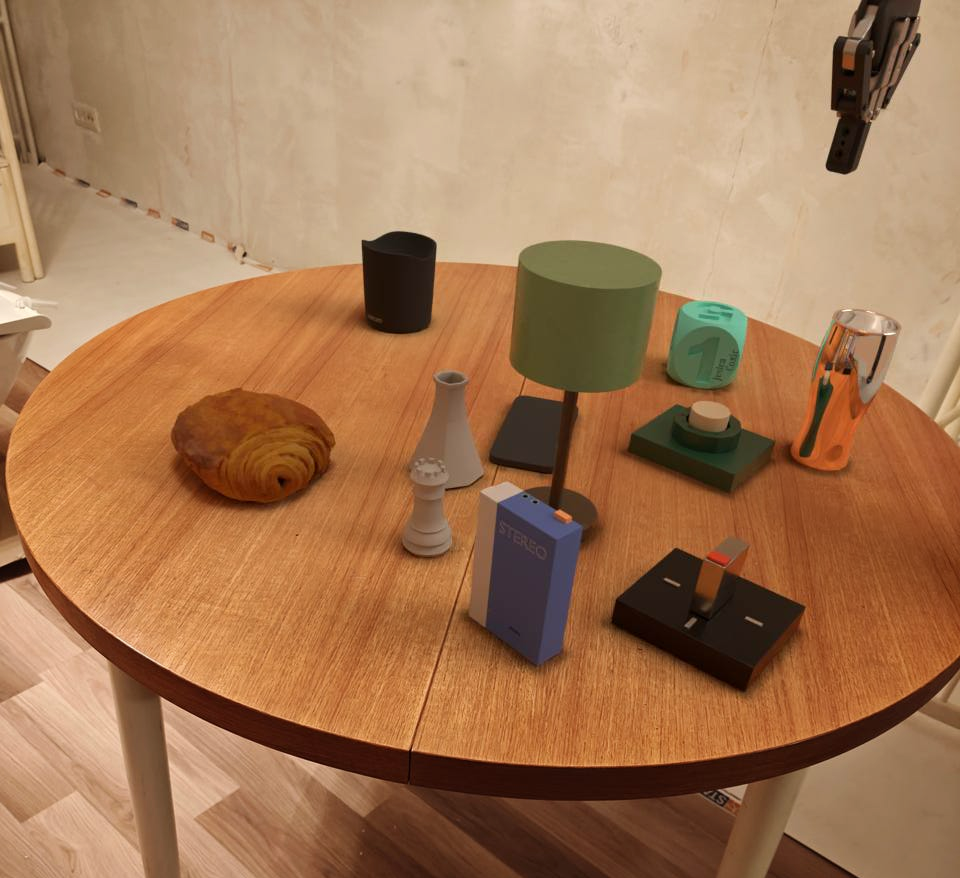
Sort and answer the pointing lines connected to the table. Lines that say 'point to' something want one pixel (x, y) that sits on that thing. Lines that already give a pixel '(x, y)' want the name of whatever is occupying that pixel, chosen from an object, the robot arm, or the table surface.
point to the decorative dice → (706, 344)
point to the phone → (529, 434)
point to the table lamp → (580, 336)
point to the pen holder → (399, 281)
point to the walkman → (523, 570)
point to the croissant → (253, 444)
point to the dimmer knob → (719, 576)
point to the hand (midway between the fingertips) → (840, 171)
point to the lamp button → (709, 416)
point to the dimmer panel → (707, 621)
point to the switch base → (702, 449)
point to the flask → (450, 432)
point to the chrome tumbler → (844, 385)
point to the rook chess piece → (428, 511)
